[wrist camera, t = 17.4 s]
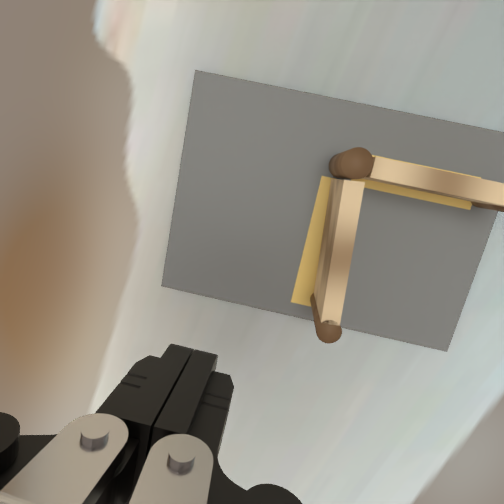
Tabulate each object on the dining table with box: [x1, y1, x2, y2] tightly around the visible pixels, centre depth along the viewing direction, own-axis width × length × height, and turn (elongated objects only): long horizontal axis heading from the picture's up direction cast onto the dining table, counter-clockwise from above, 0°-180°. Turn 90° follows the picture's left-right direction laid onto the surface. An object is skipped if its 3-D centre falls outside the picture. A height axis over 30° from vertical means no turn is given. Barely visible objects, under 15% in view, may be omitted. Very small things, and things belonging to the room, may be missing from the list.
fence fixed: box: [329, 147, 504, 212], centre depth 24 cm, size 12×2×6 cm, turn 78°
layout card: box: [161, 70, 504, 352], centre depth 28 cm, size 24×17×1 cm
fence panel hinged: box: [310, 178, 365, 343], centre depth 25 cm, size 10×2×6 cm, turn 174°
